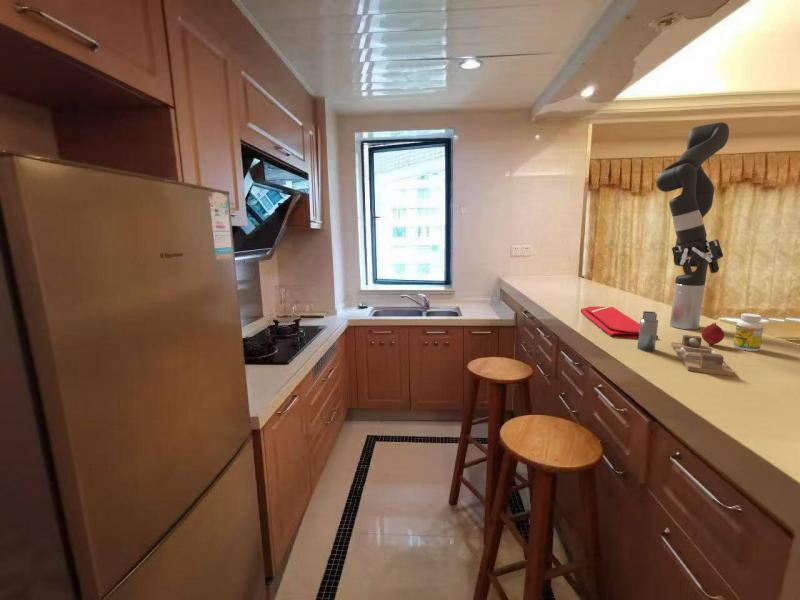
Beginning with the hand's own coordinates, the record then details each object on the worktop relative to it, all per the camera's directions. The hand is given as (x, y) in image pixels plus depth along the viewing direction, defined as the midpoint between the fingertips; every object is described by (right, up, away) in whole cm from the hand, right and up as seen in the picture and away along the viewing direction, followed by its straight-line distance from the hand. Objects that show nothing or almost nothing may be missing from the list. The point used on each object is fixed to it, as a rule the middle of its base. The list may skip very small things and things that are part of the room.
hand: (701, 273), depth 122 cm
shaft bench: (-9, -27, -10) cm, 30 cm away
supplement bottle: (+13, -25, -2) cm, 28 cm away
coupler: (-19, -25, 0) cm, 31 cm away
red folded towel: (-11, -19, +31) cm, 38 cm away
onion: (+5, -24, +2) cm, 25 cm away
